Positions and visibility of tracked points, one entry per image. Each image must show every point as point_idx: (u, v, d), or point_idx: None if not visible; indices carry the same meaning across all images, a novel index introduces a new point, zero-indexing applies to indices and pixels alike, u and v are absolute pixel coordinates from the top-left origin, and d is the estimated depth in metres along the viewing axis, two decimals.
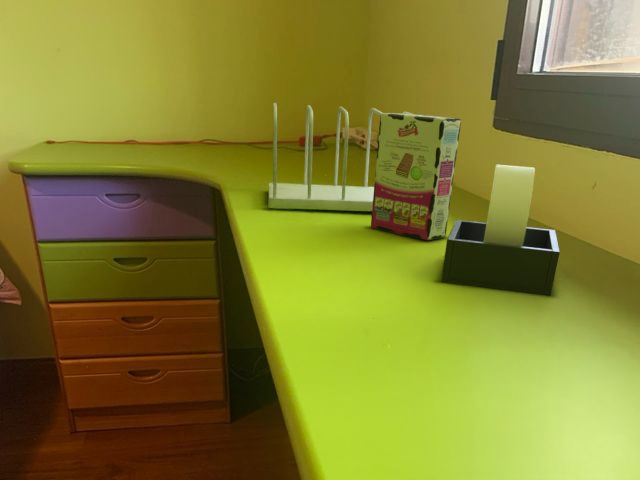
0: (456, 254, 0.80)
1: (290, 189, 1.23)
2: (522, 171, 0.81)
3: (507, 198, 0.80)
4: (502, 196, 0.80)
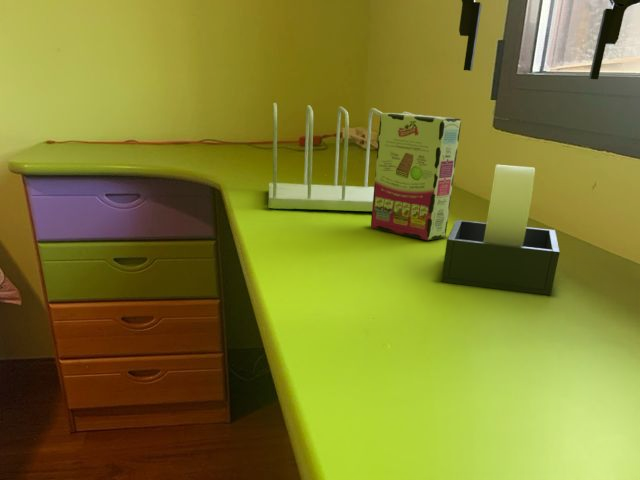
0: (456, 254, 0.80)
1: (290, 189, 1.23)
2: (522, 171, 0.81)
3: (507, 198, 0.80)
4: (502, 196, 0.80)
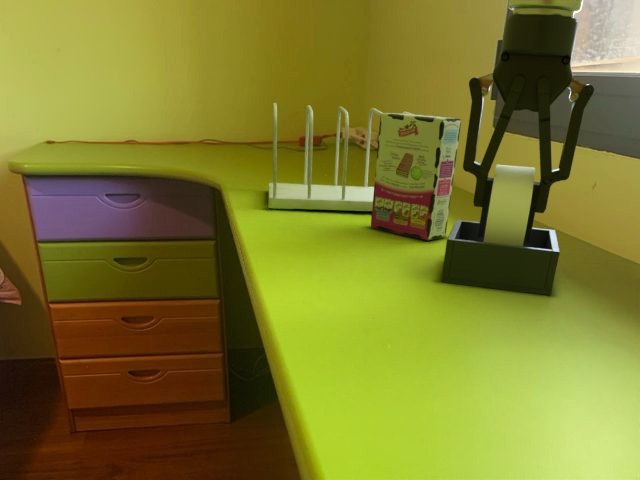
0: (456, 254, 0.80)
1: (290, 189, 1.23)
2: (522, 171, 0.81)
3: (507, 198, 0.80)
4: (502, 196, 0.80)
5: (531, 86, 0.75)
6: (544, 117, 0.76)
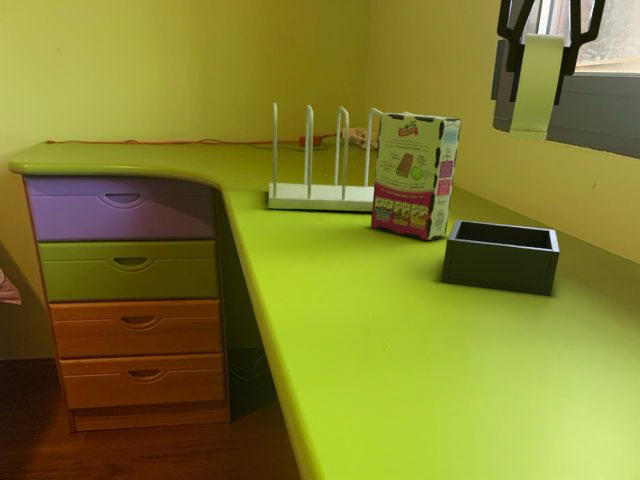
0: (456, 254, 0.80)
1: (290, 189, 1.23)
2: (552, 36, 0.86)
3: (538, 59, 0.84)
4: (534, 58, 0.85)
5: None
6: None
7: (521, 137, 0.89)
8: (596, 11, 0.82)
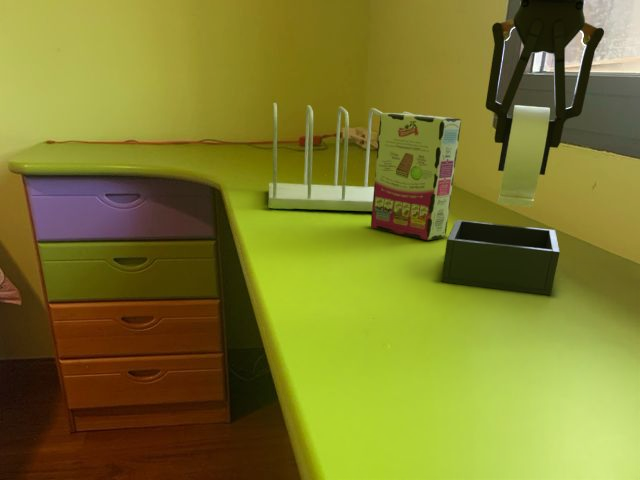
0: (456, 254, 0.80)
1: (290, 189, 1.23)
2: (539, 109, 0.90)
3: (525, 133, 0.89)
4: (521, 131, 0.89)
5: (548, 30, 0.84)
6: (559, 57, 0.85)
7: (509, 203, 0.93)
8: (580, 89, 0.86)
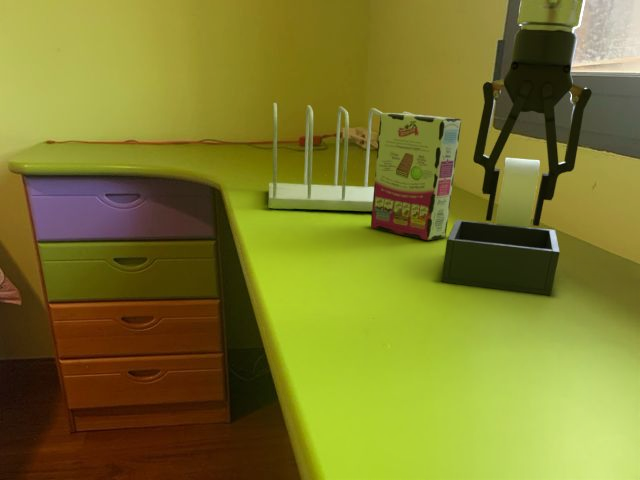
0: (456, 254, 0.80)
1: (290, 189, 1.23)
2: (529, 163, 0.93)
3: (515, 186, 0.92)
4: (511, 185, 0.92)
5: (537, 91, 0.87)
6: (549, 117, 0.88)
7: None
8: (571, 146, 0.89)
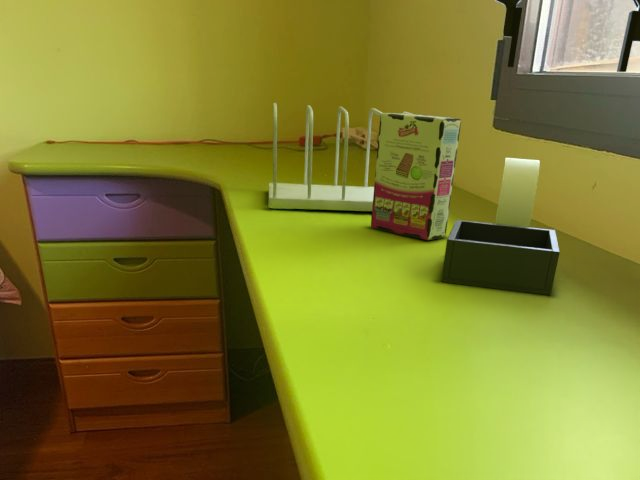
0: (456, 254, 0.80)
1: (290, 189, 1.23)
2: (529, 163, 0.93)
3: (515, 186, 0.92)
4: (511, 185, 0.92)
5: None
6: None
7: None
8: None
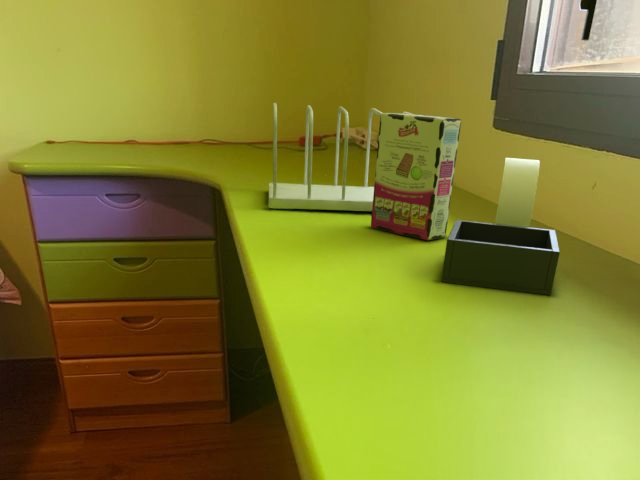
0: (456, 254, 0.80)
1: (290, 189, 1.23)
2: (529, 163, 0.93)
3: (515, 186, 0.92)
4: (511, 185, 0.92)
5: None
6: None
7: None
8: None
